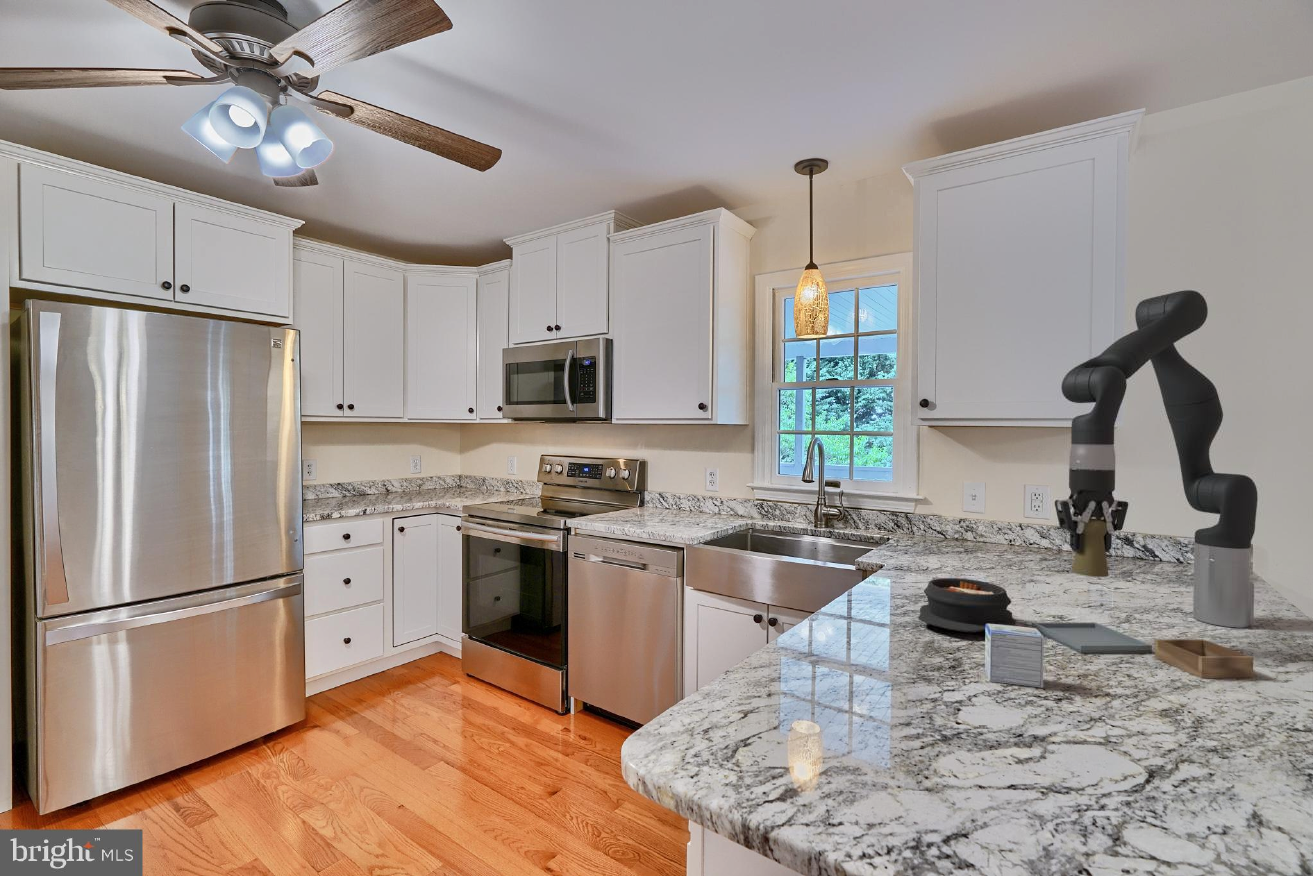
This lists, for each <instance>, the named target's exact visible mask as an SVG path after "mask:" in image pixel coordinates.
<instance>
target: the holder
mask: <svg viewBox="0 0 1313 876" xmlns="http://www.w3.org/2000/svg"><path fill="white" fill-rule="evenodd" d="M1154 659H1156V660H1159V661H1161V662H1164V663H1166V664H1168V665H1171V666H1172V667H1174V668H1177V669H1179V670H1182V671H1183V672H1187V673H1189V674H1191V675H1193V676H1196V677H1198V678H1200V679H1247V678H1248V677H1249V678H1248V679H1252V678H1254V657H1253V656H1251V655H1247V654H1244V653H1242V652H1239V651H1237V650H1233V649H1231V648H1228V647H1225V646H1223V645H1220V644H1217V643H1214V642H1211V641H1208V640H1205V639H1202V638H1199V639H1198V638H1184V639H1183V638H1180V639H1179V638H1177V639H1175V638H1169V639H1167V638H1164V639H1163V638H1157V639H1154ZM1245 677H1246V678H1245Z"/></svg>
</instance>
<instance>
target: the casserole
mask: <svg viewBox="0 0 1313 876" xmlns="http://www.w3.org/2000/svg"><path fill="white" fill-rule="evenodd" d="M923 593H924V595H925V596H926V598H927V604H924V605H922V606H921V607H920V608H919V613H920V614H919V615H918V618H917V619H918V620H919V621H921V622H923V623H925V624H928V625H931V626H933V627H937V628H942V629H945V630H950V631H955V632H963V633H978V632H980V633H983V632H985V629H986V624H998V625H1009V626H1015V625H1016V620H1015V619H1014V617H1013V612H1012V611H1010V610H1009V609H1008V606H1010V604H1012V600H1011V598H1010V597H1009V596H1008V593H1007V591H1006V589H1005V588H1003V587H1002V586H999V585H997V584H994V583H991V582H985V581H982V580H975V579H968V578H959V577H958V578H957V577H956V578H953V577H951V578H950V577H946V578H944V577H943V578H935V579H931V580H930V581H929V582H928V583H927V586H926V587H925V589H924V590H923Z"/></svg>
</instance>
